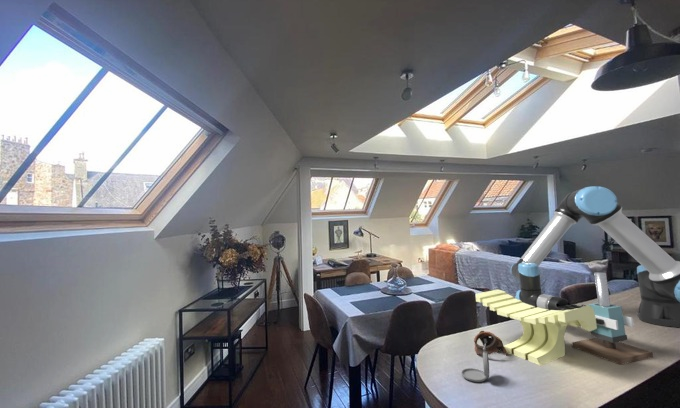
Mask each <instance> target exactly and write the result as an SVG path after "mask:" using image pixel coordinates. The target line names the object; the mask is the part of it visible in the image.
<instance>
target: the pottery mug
mask: <svg viewBox="0 0 680 408" xmlns="http://www.w3.org/2000/svg"><path fill="white" fill-rule="evenodd" d="M478 340H480V341H481V343H482V345H481V344H478ZM473 342H474V352H475V353H476V356H479V355H483V352H484V350H483V346H484V345H485V343H486V346H485V348H486V350H485V351H486V352H487V353H488V355H491V354H493V353H497V354H499V351H500V352H502V353H504V355H505V356H508V353H507V352H506V349H505V348H504V343H503V341H502V339H501V338H499V337H498V336H497V335H495V334H494V333H492V332H490V331H484V330H481V331H479V333H477V334H476V335H475V337H474V338H473Z"/></svg>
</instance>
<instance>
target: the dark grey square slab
mask: <svg viewBox="0 0 680 408" xmlns="http://www.w3.org/2000/svg"><path fill="white" fill-rule="evenodd" d="M589 332H590V336H591V337H593V338H599V339H602V340H606V341H609V342H612V343H614V342H623V341H628V334H626V335H623V336H618V337H613V338H612V337H608V336H605V335H602V334H598V333H595V332H592V331H589Z"/></svg>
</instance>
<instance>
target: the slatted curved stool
mask: <svg viewBox="0 0 680 408" xmlns="http://www.w3.org/2000/svg"><path fill="white" fill-rule="evenodd" d="M475 302H476V303H482V306H483V307H489V311H493V312H496V314H497V315H498V316H501V317H505V318H510V319H514V320H517V321H519V322H520V323H521V326H522V328H523V333H522V335H521V336H520V337H519V338H518V339H516V340H514V341H512V342H509V343H508V344H505V345H504V344H503V346H504V348H505V349H506V352H507V354H509V355H513V356H515V357H518V358H520V359H522V360H528V362H530V363H533V364H536V365H538V366H543V365H546V364H548V363H551V362H552V361H556V360H558V359H560V358H562V357H565V355H566V345H565V334H566V330H567V326H570V327H576V328H578V327H581V329H582V330H585V331H587V332H590V331H592V330H595V329H597V325H596V318H595V313H594V310H593V308H592V307H591V306H589V305H588V304H587V305H586V306H584V307H581V308H576V309H573V310H572V309H571V310H564V311H562V310H550V311H549V310H548V309H542V308H538V307H537V308H535V306H532V305H529V304H526V303H522V301H520V300H518V299H515V297H514V296H513V295H510V294H509V293H507V291H504V290H501V289H493V290H487V291H483V292H478V293H475ZM555 359H556V360H555ZM550 361H551V362H550Z"/></svg>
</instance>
